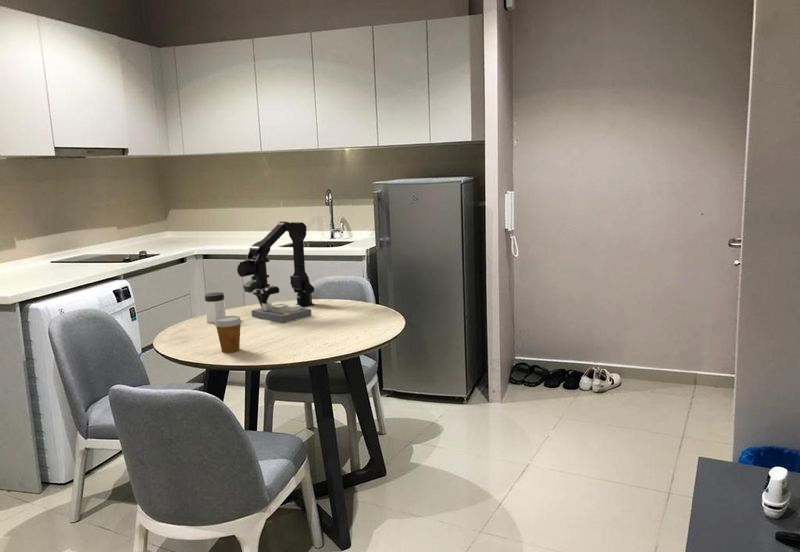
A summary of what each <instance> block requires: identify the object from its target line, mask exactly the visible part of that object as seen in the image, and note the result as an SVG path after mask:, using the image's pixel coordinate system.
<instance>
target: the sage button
mask: <svg viewBox="0 0 800 552" xmlns="http://www.w3.org/2000/svg"><path fill="white" fill-rule="evenodd" d="M276 305H277V304H276ZM284 305H285V304H284ZM284 305H277V306H273V305H272V306H273V308H275V309H281V308H285V307H286V306H284Z"/></svg>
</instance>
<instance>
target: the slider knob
mask: <svg viewBox="0 0 800 552" xmlns="http://www.w3.org/2000/svg"><path fill="white" fill-rule="evenodd" d="M272 306H273V303H272V302H269V301H267V302H266V303H262V307H261V308H262V310H265V311H268V310H272Z"/></svg>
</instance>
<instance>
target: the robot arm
mask: <svg viewBox="0 0 800 552" xmlns="http://www.w3.org/2000/svg"><path fill="white" fill-rule="evenodd" d="M286 232H288V236H289V238H290V240H291V241H292V250H293V251H292V253H293V255H292V256H293V270H294V271H293V274H292V275H290V277H289V279H290V283H289V285H291V286H290V287H291V288H292V289H293V291H294V292H293V293H296V304H295V305H300V307H301V308H307V307H309V306H313V305H315V303H314V302H313V298H312V294H313V293H314V292H315V287H314V286H313V285H312V284H311V283H310V278H309V276H308V273H307V271H306V266H305V264H306V263H305V247H304V240H305V239H306V236H307V225H306V224H305V223H304V222H300V221H298V222H297V221H295V222H294V221H292V222H289V221H279V222H278V223H277V225H276V226H275V227H273V229H272V230H270V232H268V233H267V235H265V236H264V238H263V239H261V240H259V241H257V242H255V243H253V244H252V245H251V246H250V247H249V248H248V249H249V251H248V253H247V255H246V257H245V259H244V260H239V264H238V265H237V268H236V272H237V274H238V276H239V277H241V278H245V277H248V276H251V280H248V281H247V282H246V283H244V284H242V288H243V290H244V292H245V293H250V294H252V295H255V297H256V298H257V300H258V303H259V304H260V307H261V308H262V303H266V302H268V300H269V298H270V296H271V295H274V294H279V293H280V288H279V287H278V286H276V285H270V283H268V278H270V274H268V269H267V263H269V262H270V261H271V260H270V259H269V258H268V257H267V256H268V255H269V253H270V252H271V247H272V246H273V245H274V244H275V243H276V242H277V241H278V240H279V239H280V238H281V237H282V236H283V235H284V234H285V233H286Z"/></svg>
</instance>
